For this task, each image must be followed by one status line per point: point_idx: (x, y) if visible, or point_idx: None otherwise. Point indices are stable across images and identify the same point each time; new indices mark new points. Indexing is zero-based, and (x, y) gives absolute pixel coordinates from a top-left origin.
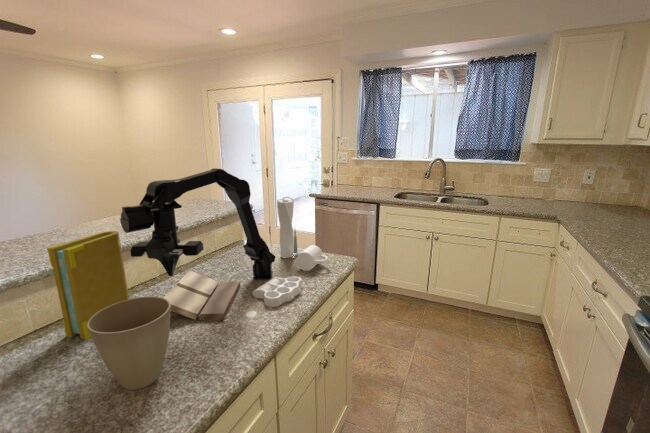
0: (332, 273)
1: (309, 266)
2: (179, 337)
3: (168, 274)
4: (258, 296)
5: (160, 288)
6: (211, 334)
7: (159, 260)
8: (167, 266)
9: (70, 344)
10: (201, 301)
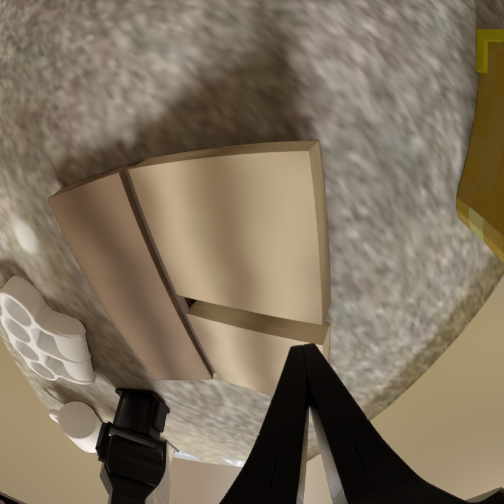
0: (38, 386)
1: (70, 408)
2: (139, 38)
3: (318, 354)
4: (67, 318)
5: (408, 333)
6: (48, 97)
7: (420, 488)
8: (324, 432)
9: (493, 17)
10: (174, 261)
